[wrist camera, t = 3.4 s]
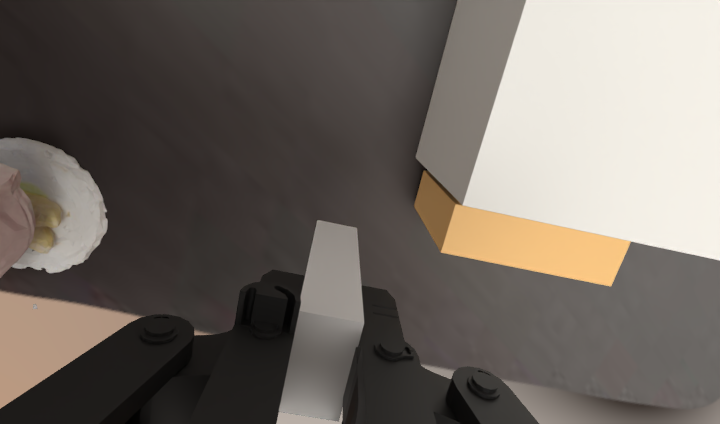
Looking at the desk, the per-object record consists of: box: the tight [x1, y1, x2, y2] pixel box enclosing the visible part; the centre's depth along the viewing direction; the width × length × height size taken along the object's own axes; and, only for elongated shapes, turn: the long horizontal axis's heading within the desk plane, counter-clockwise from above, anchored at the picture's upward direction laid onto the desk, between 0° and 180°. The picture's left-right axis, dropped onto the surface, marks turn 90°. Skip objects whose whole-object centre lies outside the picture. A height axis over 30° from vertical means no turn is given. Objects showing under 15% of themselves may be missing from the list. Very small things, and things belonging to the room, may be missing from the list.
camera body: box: [415, 0, 720, 260], centre depth 19 cm, size 21×12×11 cm, turn 77°
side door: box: [414, 170, 631, 286], centre depth 21 cm, size 8×2×7 cm, turn 77°
